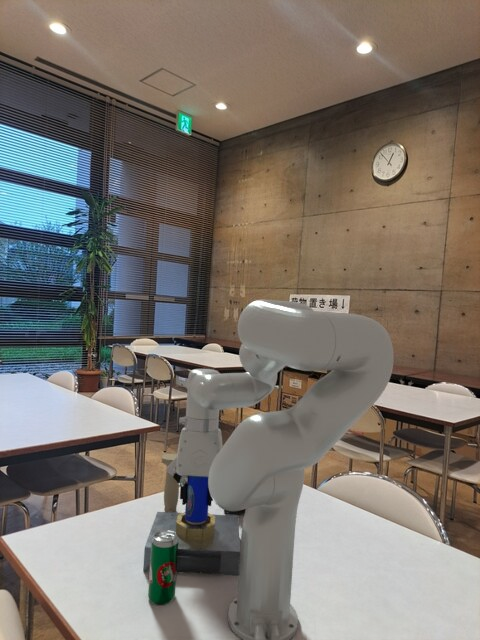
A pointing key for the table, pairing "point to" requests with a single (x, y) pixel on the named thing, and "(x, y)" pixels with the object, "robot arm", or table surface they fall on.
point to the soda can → (163, 567)
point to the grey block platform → (200, 543)
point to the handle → (170, 486)
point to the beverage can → (197, 500)
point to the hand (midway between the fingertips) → (197, 502)
